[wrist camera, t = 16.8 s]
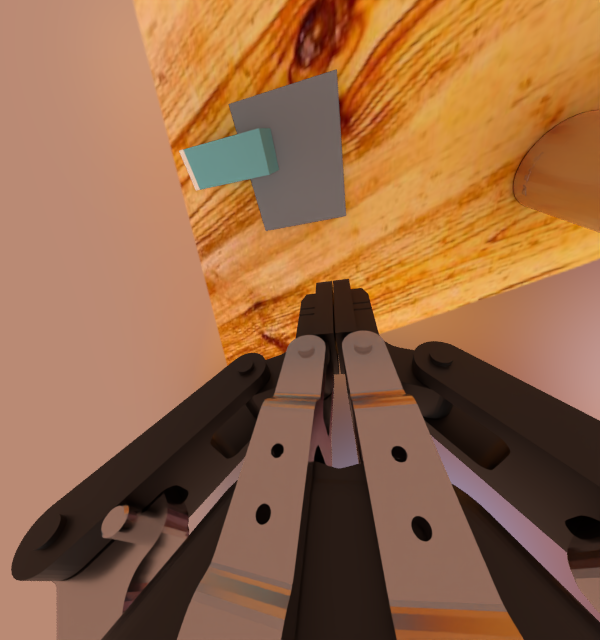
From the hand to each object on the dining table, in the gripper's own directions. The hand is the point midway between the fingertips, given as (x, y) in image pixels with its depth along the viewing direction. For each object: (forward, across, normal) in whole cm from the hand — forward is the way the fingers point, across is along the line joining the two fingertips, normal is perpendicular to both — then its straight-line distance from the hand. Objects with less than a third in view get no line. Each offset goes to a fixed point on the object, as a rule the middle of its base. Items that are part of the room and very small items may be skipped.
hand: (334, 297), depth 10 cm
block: (+22, +6, -6) cm, 24 cm away
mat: (+25, +4, -4) cm, 26 cm away
